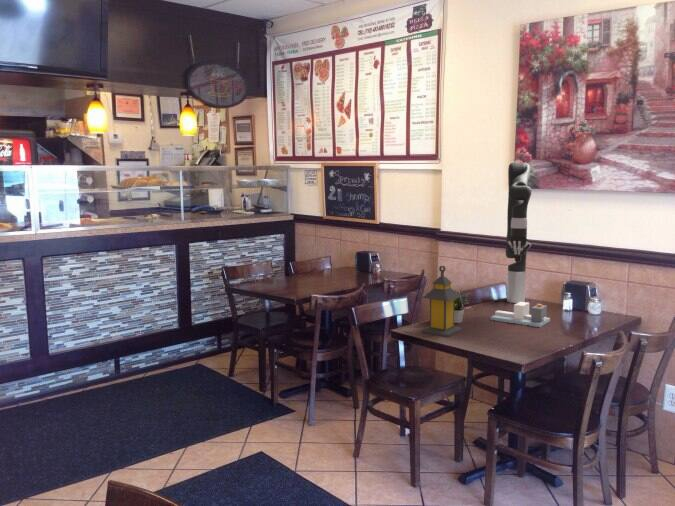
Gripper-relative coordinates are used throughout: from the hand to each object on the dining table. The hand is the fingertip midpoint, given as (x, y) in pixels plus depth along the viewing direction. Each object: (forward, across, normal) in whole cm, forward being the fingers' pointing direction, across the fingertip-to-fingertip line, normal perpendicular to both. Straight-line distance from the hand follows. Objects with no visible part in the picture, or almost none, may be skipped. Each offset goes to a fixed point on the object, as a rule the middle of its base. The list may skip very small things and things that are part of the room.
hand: (517, 262), depth 295 cm
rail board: (+27, -5, +8) cm, 29 cm away
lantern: (+27, +17, +46) cm, 56 cm away
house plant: (+27, +18, +28) cm, 43 cm away
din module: (+26, -6, +8) cm, 27 cm away
